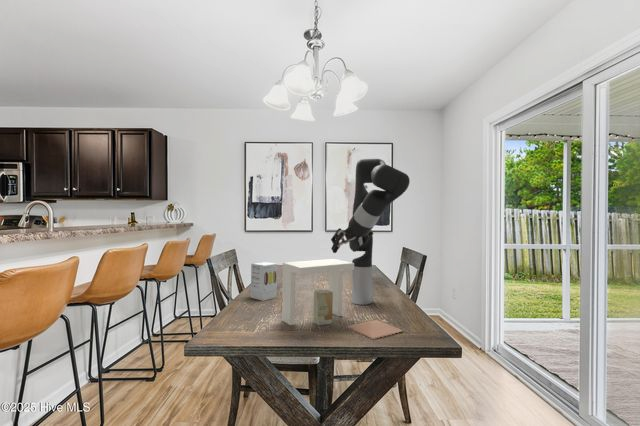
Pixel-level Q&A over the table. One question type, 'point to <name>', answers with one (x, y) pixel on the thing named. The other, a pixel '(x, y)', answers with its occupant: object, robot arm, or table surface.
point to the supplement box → (264, 281)
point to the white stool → (312, 267)
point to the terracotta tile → (374, 329)
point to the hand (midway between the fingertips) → (343, 250)
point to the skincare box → (323, 307)
